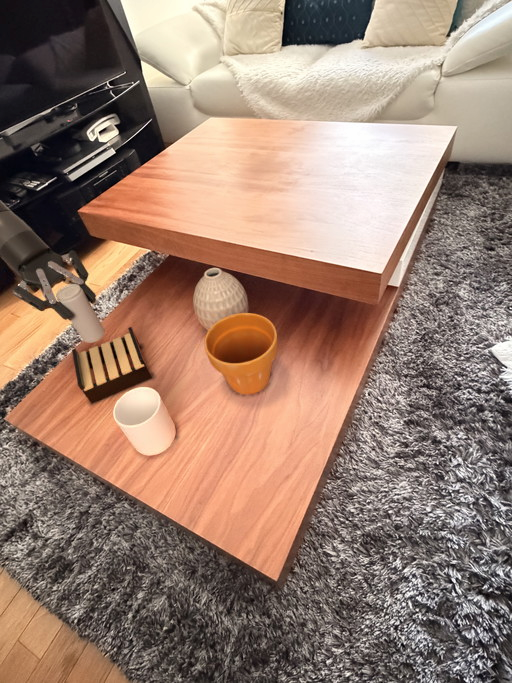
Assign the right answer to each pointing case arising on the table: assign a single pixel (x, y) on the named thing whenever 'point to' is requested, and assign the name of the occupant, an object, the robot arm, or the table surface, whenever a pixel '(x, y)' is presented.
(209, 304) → the vase
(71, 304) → the beverage can
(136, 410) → the mug
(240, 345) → the flower pot
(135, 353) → the rack
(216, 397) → the table surface
